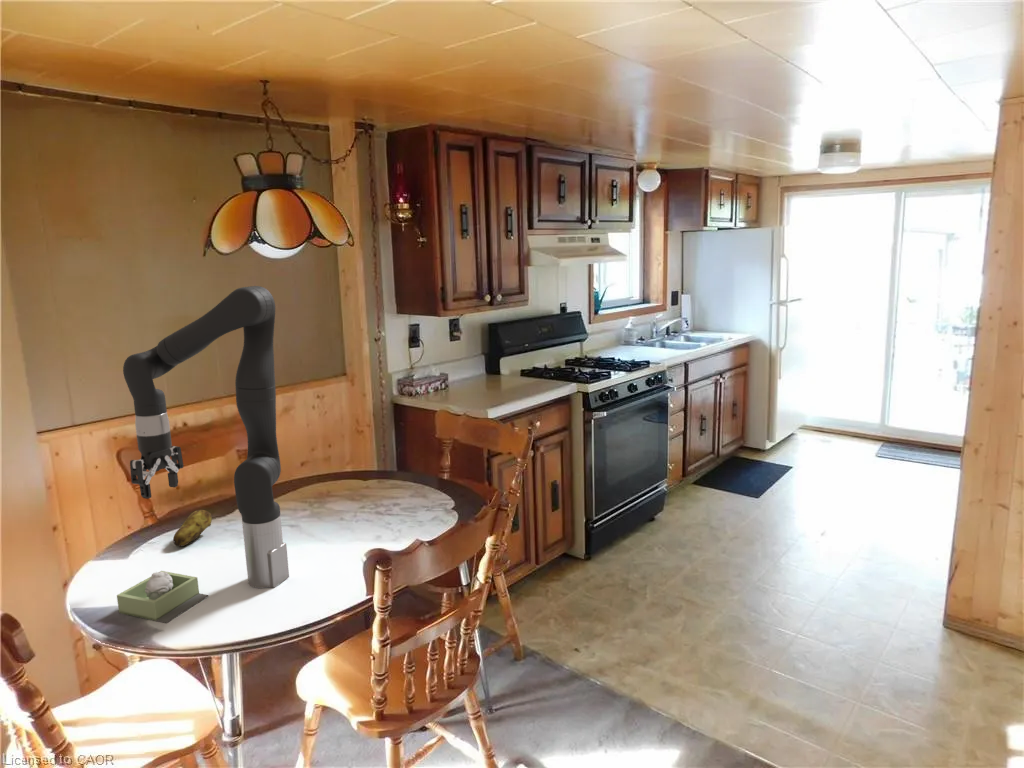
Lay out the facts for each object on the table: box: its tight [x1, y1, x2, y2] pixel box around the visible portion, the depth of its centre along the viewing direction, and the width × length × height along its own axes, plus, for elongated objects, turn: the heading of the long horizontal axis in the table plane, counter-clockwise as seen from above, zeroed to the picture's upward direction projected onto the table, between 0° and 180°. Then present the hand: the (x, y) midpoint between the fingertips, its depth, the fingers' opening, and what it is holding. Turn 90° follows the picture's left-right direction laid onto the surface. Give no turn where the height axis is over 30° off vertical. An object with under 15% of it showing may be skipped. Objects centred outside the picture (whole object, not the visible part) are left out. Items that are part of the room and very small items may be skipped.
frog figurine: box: [145, 571, 173, 600], centre depth 164 cm, size 6×7×7 cm
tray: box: [116, 570, 209, 624], centre depth 164 cm, size 14×13×5 cm
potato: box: [173, 509, 213, 547], centre depth 200 cm, size 8×13×8 cm, turn 144°
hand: (160, 492), depth 173 cm, fingers open, 8 cm apart
